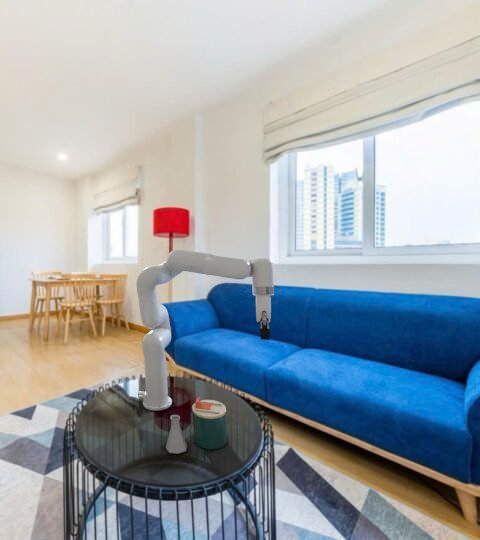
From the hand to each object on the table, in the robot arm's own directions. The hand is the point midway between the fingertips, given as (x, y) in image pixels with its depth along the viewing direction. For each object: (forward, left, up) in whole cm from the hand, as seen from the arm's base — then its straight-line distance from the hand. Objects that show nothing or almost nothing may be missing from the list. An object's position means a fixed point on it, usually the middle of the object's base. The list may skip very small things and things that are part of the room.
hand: (264, 336), depth 109 cm
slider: (-21, -19, -20) cm, 35 cm away
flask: (-29, -26, -31) cm, 50 cm away
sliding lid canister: (-19, -19, -31) cm, 41 cm away
